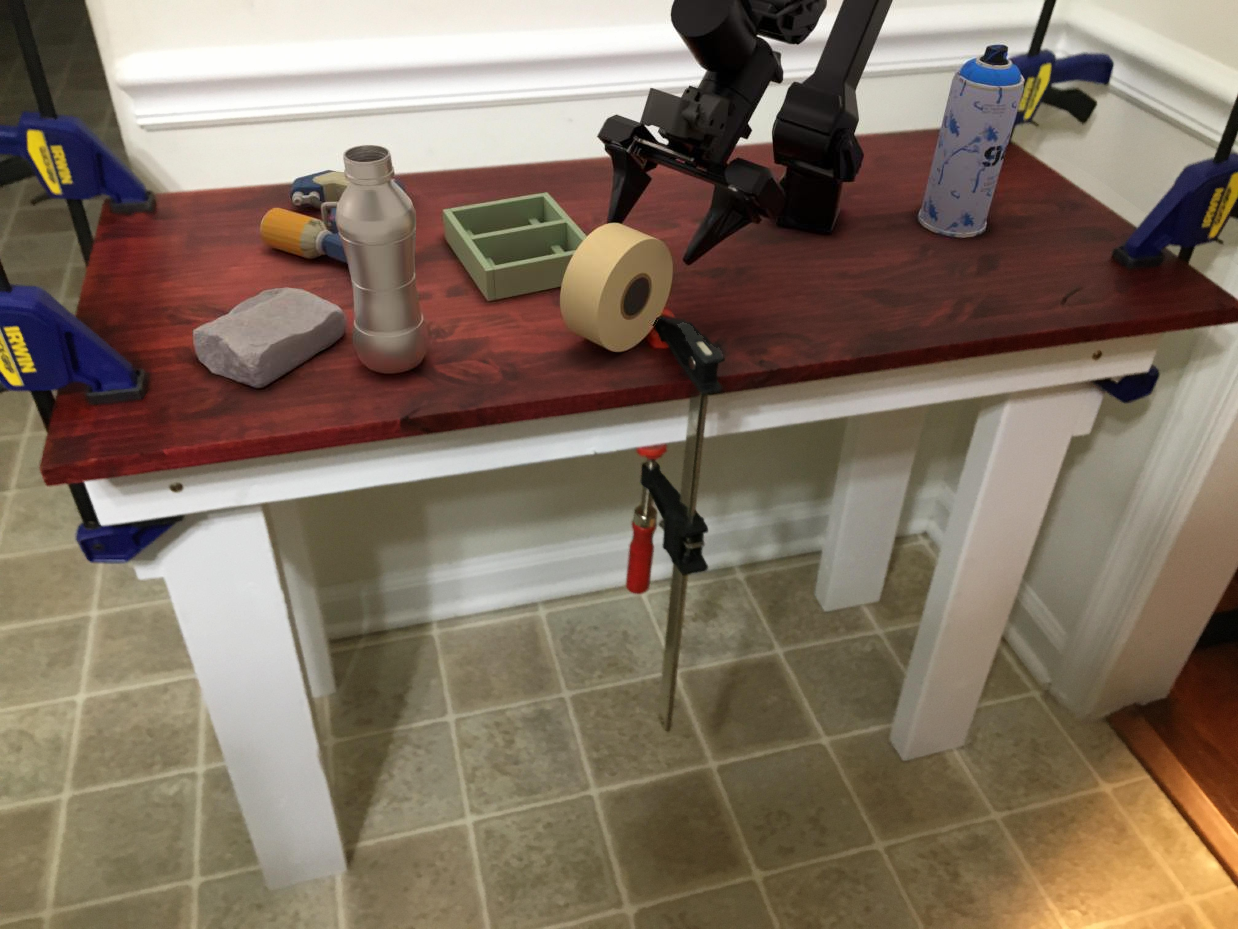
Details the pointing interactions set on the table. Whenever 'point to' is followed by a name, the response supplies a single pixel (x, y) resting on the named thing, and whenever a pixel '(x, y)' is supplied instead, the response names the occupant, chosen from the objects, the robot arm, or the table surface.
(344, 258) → the spray gun
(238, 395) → the table surface
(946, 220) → the aerosol can
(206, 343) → the stone block
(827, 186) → the robot arm
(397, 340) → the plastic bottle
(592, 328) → the masking tape roll
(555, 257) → the green divided tray
